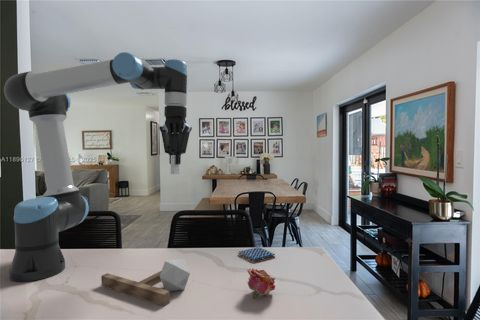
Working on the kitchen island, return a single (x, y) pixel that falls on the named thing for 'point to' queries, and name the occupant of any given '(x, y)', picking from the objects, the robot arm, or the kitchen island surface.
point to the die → (174, 275)
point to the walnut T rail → (138, 288)
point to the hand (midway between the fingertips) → (174, 173)
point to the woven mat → (256, 254)
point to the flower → (260, 282)
